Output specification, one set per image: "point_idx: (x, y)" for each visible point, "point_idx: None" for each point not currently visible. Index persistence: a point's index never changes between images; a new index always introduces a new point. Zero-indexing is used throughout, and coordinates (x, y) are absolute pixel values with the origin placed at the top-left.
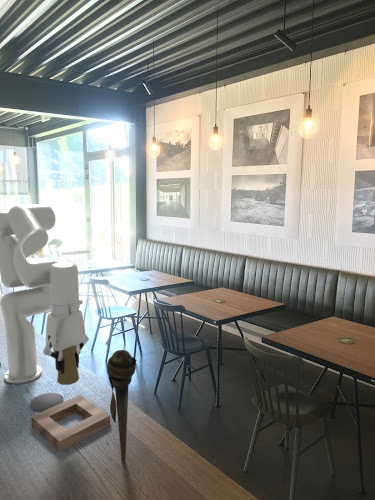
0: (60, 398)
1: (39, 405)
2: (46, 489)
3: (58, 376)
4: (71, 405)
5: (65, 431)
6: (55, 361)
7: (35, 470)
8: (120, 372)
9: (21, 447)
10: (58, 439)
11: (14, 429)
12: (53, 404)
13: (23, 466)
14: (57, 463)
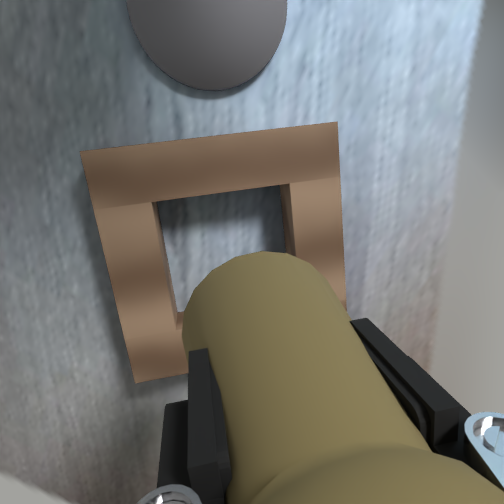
0: (270, 28)
1: (165, 15)
2: (55, 477)
3: (187, 360)
4: (267, 185)
5: (173, 341)
6: (158, 477)
7: (44, 397)
8: None
9: (25, 262)
10: (134, 370)
11: (19, 124)
12: (223, 59)
13: (12, 361)
14: (114, 402)
